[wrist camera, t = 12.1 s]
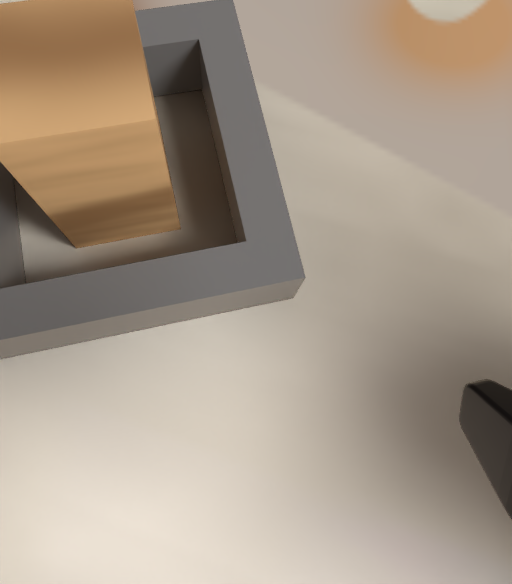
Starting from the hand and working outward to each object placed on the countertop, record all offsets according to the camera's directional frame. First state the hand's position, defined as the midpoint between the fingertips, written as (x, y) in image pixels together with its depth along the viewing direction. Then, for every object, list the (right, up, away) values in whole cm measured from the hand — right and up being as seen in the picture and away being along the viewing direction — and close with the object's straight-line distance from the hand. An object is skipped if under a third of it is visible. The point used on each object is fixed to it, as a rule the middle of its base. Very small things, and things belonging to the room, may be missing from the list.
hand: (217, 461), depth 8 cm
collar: (-6, +8, +16) cm, 18 cm away
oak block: (-6, +8, +16) cm, 18 cm away
